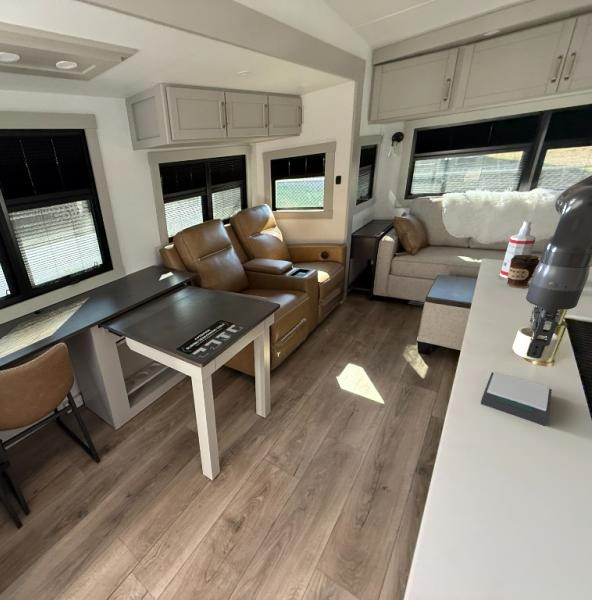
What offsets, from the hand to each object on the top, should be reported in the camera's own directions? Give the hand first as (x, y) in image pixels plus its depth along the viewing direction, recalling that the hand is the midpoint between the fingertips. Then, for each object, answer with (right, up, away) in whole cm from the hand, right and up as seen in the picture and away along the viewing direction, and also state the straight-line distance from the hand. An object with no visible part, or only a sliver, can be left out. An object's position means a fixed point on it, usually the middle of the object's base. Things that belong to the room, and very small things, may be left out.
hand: (532, 349), depth 73 cm
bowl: (0, -1, +1) cm, 1 cm away
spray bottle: (+68, +23, +72) cm, 102 cm away
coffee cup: (+61, +18, +62) cm, 89 cm away
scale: (+2, -13, +6) cm, 14 cm away
